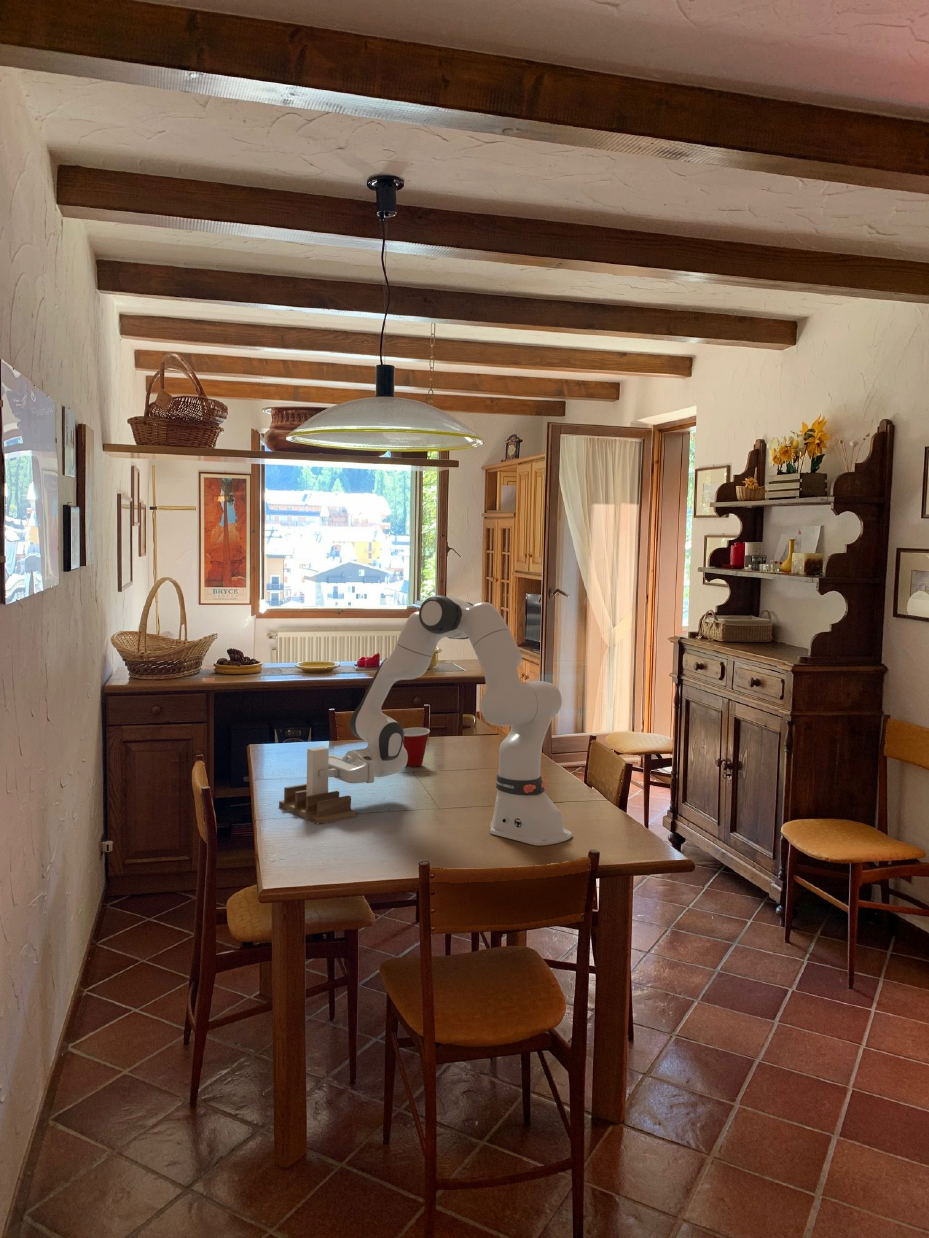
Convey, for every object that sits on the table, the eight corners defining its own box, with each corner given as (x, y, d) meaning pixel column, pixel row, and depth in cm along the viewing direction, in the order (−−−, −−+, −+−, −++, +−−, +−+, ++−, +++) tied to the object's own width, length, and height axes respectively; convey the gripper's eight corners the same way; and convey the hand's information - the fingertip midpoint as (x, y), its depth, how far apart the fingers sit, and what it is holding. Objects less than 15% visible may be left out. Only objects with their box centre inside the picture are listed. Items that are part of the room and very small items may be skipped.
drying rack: (355, 816, 251) (356, 796, 251) (317, 824, 243) (318, 803, 243) (315, 799, 266) (316, 780, 265) (278, 806, 258) (279, 787, 258)
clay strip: (327, 801, 255) (328, 748, 254) (312, 804, 252) (313, 750, 250) (321, 799, 257) (322, 746, 256) (306, 802, 254) (307, 748, 253)
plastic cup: (391, 762, 313) (392, 727, 312) (420, 760, 318) (421, 726, 317) (404, 770, 304) (405, 734, 303) (434, 767, 309) (435, 732, 308)
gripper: (336, 747, 270) (295, 753, 261) (377, 761, 254) (335, 768, 245) (335, 768, 270) (294, 775, 261) (377, 783, 255) (335, 791, 246)
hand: (314, 772), depth 253 cm, fingers closed on clay strip, 3 cm apart
